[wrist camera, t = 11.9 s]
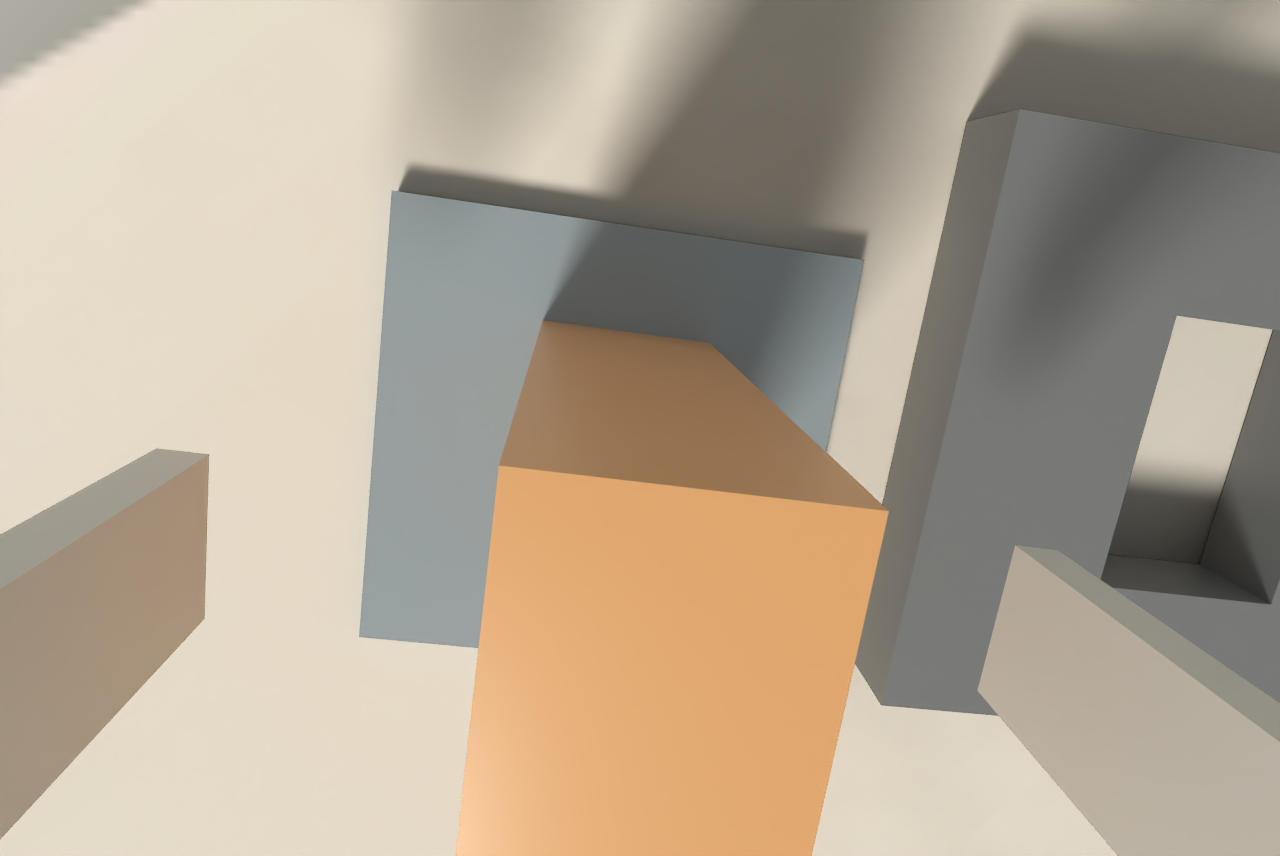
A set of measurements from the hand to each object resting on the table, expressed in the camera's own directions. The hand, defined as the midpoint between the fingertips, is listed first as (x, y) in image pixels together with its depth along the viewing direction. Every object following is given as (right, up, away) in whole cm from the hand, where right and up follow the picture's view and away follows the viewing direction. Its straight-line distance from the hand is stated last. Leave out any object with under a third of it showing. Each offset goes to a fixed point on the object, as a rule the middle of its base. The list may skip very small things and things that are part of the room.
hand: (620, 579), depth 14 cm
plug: (0, +2, +7) cm, 7 cm away
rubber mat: (-1, +2, +8) cm, 8 cm away
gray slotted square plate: (+14, +2, +9) cm, 17 cm away
